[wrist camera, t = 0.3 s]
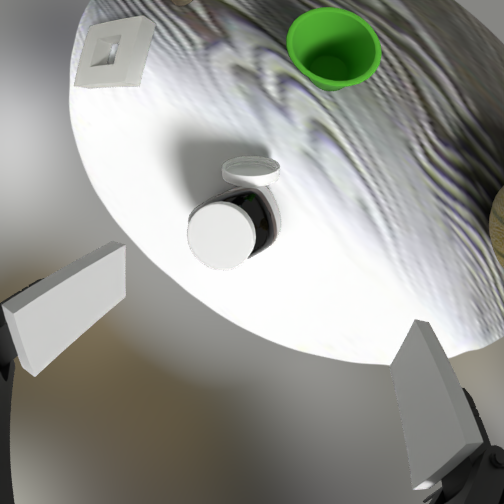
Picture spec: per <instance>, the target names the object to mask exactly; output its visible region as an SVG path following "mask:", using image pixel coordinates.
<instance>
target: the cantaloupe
mask: <svg viewBox="0 0 504 504" xmlns="http://www.w3.org/2000/svg"><path fill="white" fill-rule="evenodd" d="M489 233H490V237H491V242H492V247H493V250H494V252H495V255H496V257H497V259H498V261H499V263H500V264H501V266H502V267H503V268H504V186H503V187H502V188H501V189H500V191H499V192H498V193H497V195H496V196H495V199H494V201H493V204H492V208H491V213H490V218H489Z"/></svg>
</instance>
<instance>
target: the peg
mask: <svg viewBox="0 0 504 504" xmlns="http://www.w3.org/2000/svg"><path fill="white" fill-rule="evenodd" d="M171 1H172V2H173V3H174V4H175V5H177V6H184V5H187V4H189V3H190V2H191V1H192V0H171Z"/></svg>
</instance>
